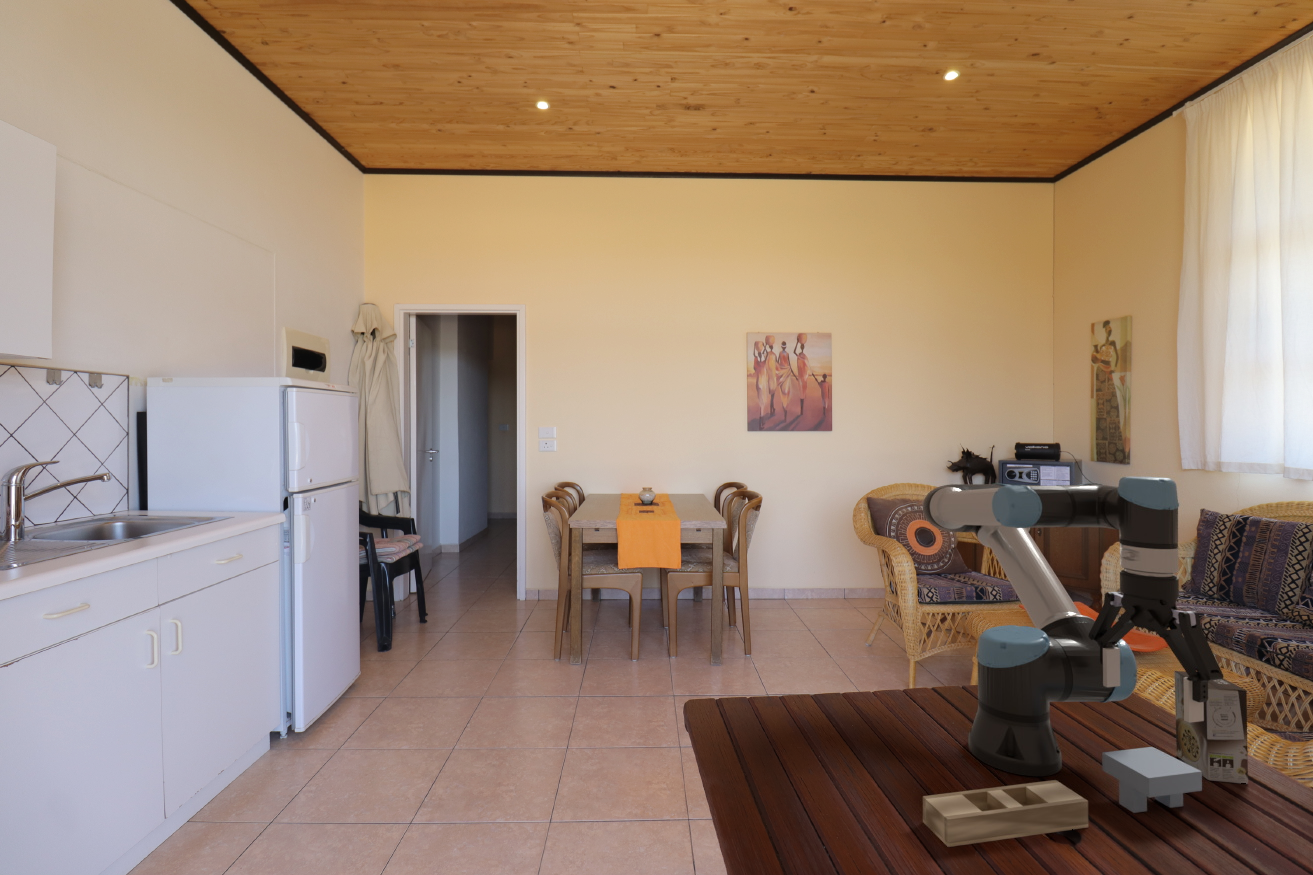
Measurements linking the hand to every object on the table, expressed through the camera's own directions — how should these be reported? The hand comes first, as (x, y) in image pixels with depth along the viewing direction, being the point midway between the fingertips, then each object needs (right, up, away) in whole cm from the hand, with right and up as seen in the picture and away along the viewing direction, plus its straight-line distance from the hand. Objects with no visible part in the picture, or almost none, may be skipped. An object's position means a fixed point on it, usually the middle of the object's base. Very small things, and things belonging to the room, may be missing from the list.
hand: (1150, 702), depth 100 cm
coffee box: (+19, -17, +11) cm, 28 cm away
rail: (-27, -17, -5) cm, 32 cm away
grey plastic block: (0, -17, 0) cm, 17 cm away
